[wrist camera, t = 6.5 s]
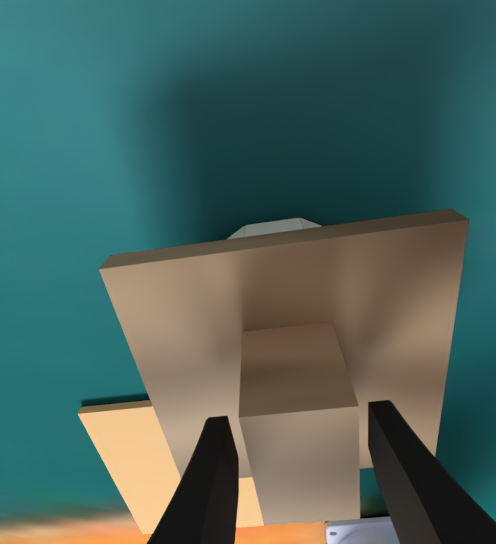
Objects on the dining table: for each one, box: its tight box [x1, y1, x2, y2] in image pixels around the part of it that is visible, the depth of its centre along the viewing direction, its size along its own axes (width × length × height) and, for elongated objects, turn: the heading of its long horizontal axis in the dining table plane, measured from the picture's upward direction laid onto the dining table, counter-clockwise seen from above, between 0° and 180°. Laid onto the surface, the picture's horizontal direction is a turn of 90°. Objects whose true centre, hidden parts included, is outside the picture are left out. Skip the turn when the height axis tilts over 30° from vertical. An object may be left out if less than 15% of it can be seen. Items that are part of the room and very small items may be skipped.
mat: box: [78, 400, 309, 534], centre depth 23 cm, size 13×13×1 cm
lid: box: [99, 209, 469, 526], centre depth 12 cm, size 11×11×4 cm
